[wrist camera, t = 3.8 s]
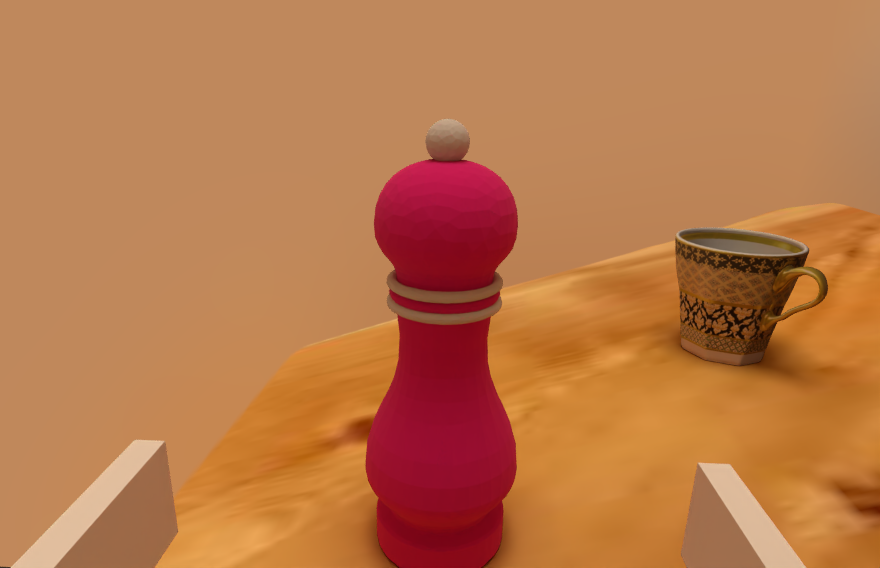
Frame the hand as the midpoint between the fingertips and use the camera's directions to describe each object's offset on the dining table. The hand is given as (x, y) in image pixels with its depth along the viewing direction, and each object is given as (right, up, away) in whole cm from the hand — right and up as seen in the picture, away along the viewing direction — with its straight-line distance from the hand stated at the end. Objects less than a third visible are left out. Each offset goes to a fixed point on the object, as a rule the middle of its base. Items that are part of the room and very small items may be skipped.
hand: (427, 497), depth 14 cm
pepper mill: (0, -7, +15) cm, 16 cm away
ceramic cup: (+26, -1, +36) cm, 44 cm away
